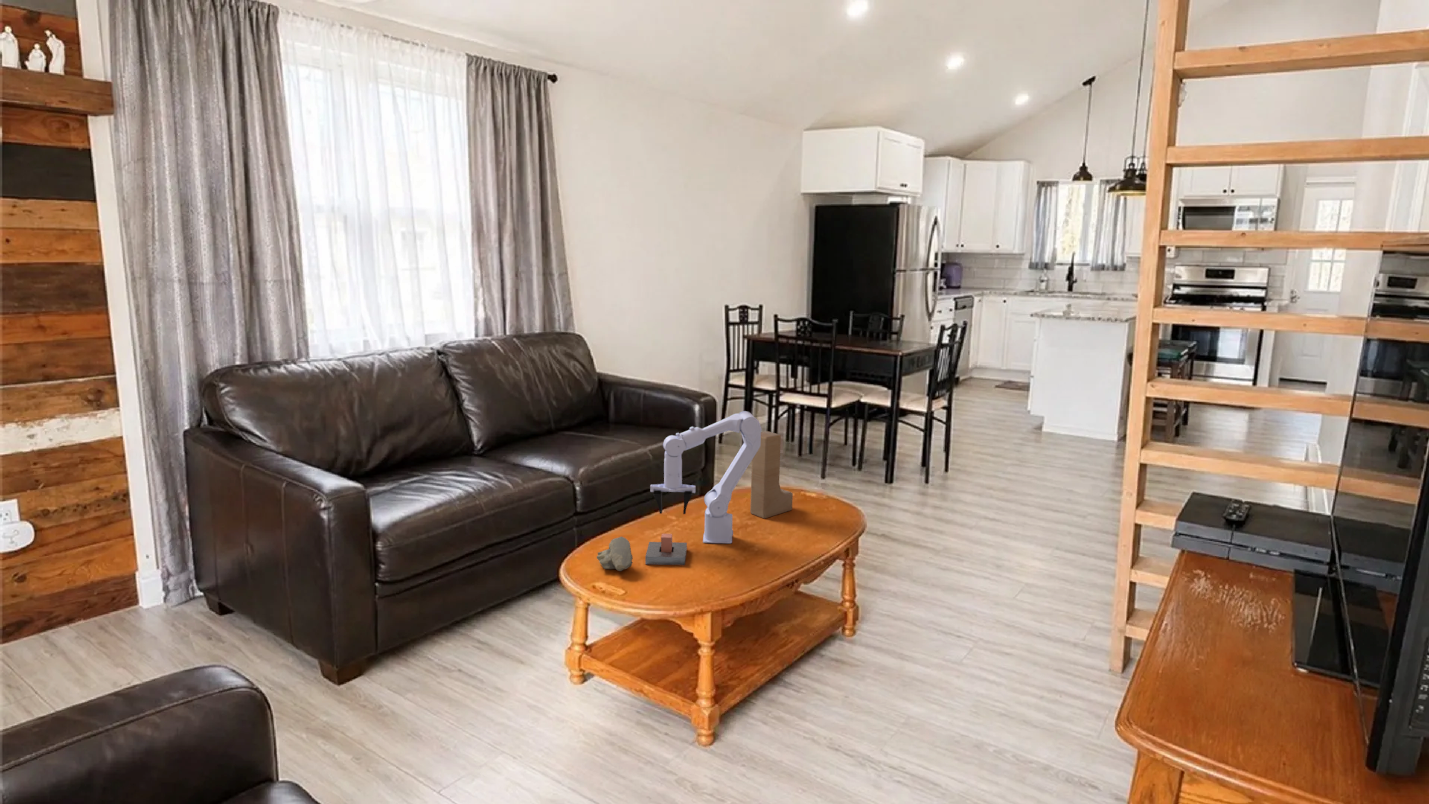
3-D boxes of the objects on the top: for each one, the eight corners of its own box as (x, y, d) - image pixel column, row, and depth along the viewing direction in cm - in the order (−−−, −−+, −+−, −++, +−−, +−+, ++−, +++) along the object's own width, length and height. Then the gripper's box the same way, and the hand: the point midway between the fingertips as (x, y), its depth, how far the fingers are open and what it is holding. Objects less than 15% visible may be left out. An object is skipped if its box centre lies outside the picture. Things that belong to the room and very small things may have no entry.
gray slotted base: (686, 550, 260) (686, 542, 260) (684, 565, 249) (684, 557, 248) (649, 549, 260) (649, 541, 260) (645, 564, 249) (645, 556, 248)
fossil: (622, 570, 253) (592, 560, 250) (634, 539, 253) (605, 528, 251) (629, 582, 239) (597, 571, 236) (642, 549, 239) (611, 538, 237)
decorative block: (792, 510, 299) (795, 431, 293) (764, 519, 289) (766, 437, 283) (778, 505, 305) (780, 427, 299) (749, 513, 295) (751, 433, 289)
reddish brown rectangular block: (672, 554, 256) (672, 533, 255) (671, 558, 253) (671, 537, 252) (661, 554, 256) (662, 533, 255) (661, 558, 253) (661, 537, 252)
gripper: (649, 476, 259) (649, 516, 261) (694, 477, 258) (694, 517, 261) (651, 469, 266) (651, 509, 268) (695, 470, 265) (695, 510, 268)
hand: (672, 512), depth 265 cm, fingers open, 7 cm apart
